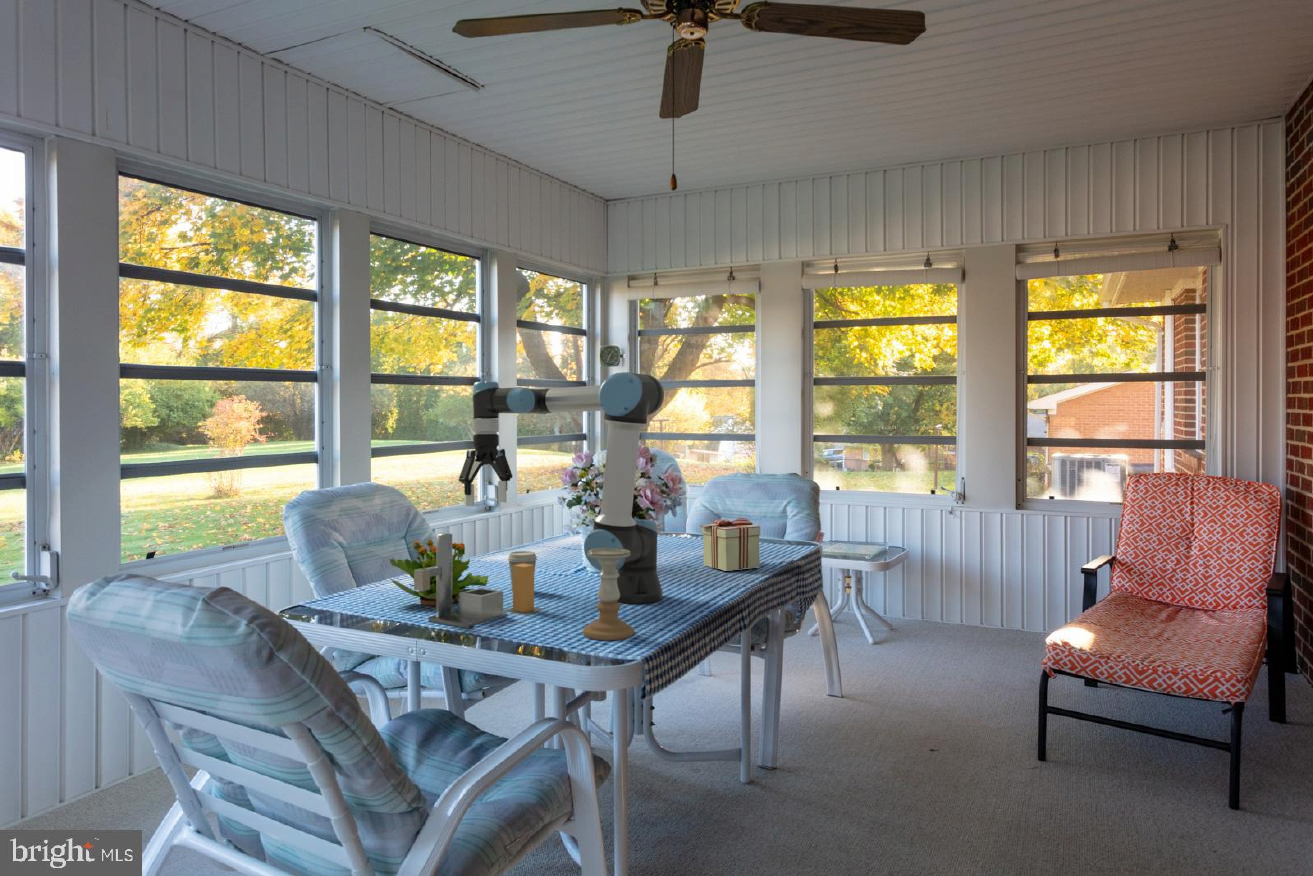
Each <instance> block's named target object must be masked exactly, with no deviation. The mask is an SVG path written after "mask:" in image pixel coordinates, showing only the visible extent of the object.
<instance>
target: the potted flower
mask: <svg viewBox="0 0 1313 876" xmlns="http://www.w3.org/2000/svg"><path fill="white" fill-rule="evenodd" d="M424 544H425V545H426V546H427V547H428V548H429V550H428V548H426V547H425V546H424ZM465 545H466V544H465V543H462V542H460V543H458V542H452V550H454V551H453V553H452V604H454V603H455V602H456V601H458V593H461V592H465V591H469V590H473V589H474V588H470V587H469V586H480V587H481V586H482V587H486V586H487V584H488V581H489V580H488V579H489V575H482V576H481V575H480V574H477V575H473V573H472V572H468V573H467V575H466V576H465V577H464V578H463V579H460V578H461V577H462V576H463V572H465V571H467V570H468V569H469V568H470V562H471V560H470V559H471V558H468V559H466V560H465V561H462V557H463V555H465V554H466V546H465ZM412 546H413V547H412V549H413V550H416V551H417V552H416V553H417V554H418V556H417V557H416V559H417V560H416V559H413V560H412V561H411V559H408V558H405V559H397V560H395V559H394V558H389V563H390V564H391V566H393V567H395V568H398V569H401V570H402V571H403V572H405V573H407V574H408V575H409V576H410V577H411V579H413V580H414V570H416V569H421V568H422V569H424V568H429V567H434V566H436V546H435V545H434V541H433V540H432V539H431V538H429V539H427V541H426V543H423V544H421V541H414V542H413V543H412ZM427 550H428V551H427ZM418 560H419V561H418ZM390 581H391V582H392V583H393V584H394V585H396V586H397V587H398V588H400V589H401V590H402V591H404V592H406V593H407V594H409V595H412V596H414V597H417V598H419V601H420V603H421V605H423V606H429V607H430V606H431V607H433V606H434V607H435V606H436V576H433V577H430V590H426V591H418V590H414V589H412V588H409V587H408V586H407V585H405V584H402V583H401V582H399V581H397V580H395V579H390ZM409 585H410V587H414V584H411V583H409Z"/></svg>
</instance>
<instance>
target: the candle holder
mask: <svg viewBox="0 0 1313 876" xmlns="http://www.w3.org/2000/svg"><path fill="white" fill-rule="evenodd" d="M587 554H588V556H589V557H592V558H597V559H598V561H599V563H600V564H601V566H602V571H600V572H599V574H598V577H599V578H600V583H599V589H598V591H597V596H596V597H597V599H598V600H599V601H598V603H597V604H596V608H597V610H598V611H599V613H598V619H597V620H593V621H592V622H590V623H589V624H587V625H586V626H583V627H584V628H583V629H582V633H583V636H584V637H586V638H589V639H592V640H597V641H598V640H599V641H617V640H625V639H628V638H630V637H633V636H634V632H635V628H634V627H633V626H632V625H630V624H628V623H627V622H626V621H624V620H623V619H622V620H621V619H619V612H618V611H619V610H620V609H621V607H622V605H621V604H620V602H618V601H617V600H618V599H619V597H620V592H619V589H618V585H617V578H618V577H619V573H618V572H617V570H616V565H617V564H618V563H619V561H620V558H626V557H628V556H630V554H631V552H630V551H629V550H627V549H621V548H597V549H592V550H589V551H588V553H587Z"/></svg>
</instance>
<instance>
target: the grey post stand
mask: <svg viewBox="0 0 1313 876" xmlns="http://www.w3.org/2000/svg"><path fill="white" fill-rule="evenodd" d="M435 540H436V541H435V543H436V544H435V545H436V566H434V567H429V568H424V569H422V568H421V569H416V570H414V579H413V585H414V586H413V590H414V591H417V592H418V591H419V592H420V591H426V590H430V577H433V576H436V607H435V611H436V613H435V615H432V616H428V618H427V619H428V622H431V623H436V624H440V625H446V626H450V627H451V626H452V627H457V628H462V629H466V630H467V629H468V630H470V629H473V628H476V626H475V625H478V624H479V625H480V624H483V623H486V622H489V621H493V620H496V619H500V618H502V617H506V616H508V613H507V612H506V613H504V611H503V610H504V590H498V589H491V588H484V587H478V588H472V589H473V590H469V591H465V592H461V593H458V602H457V603H458V605H457V607H458V609H455V610H453V603H452V555H453V549H452V543H453V533H450V532H448V533H446V532H443V533H437V534H436V536H435Z"/></svg>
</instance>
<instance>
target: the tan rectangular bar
mask: <svg viewBox="0 0 1313 876" xmlns="http://www.w3.org/2000/svg"><path fill="white" fill-rule="evenodd" d="M534 607H535V573H534V565H531V564H518V565H513V592H512V608H513V610H514V611H520V612H527V611H530V610H533V609H534Z"/></svg>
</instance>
